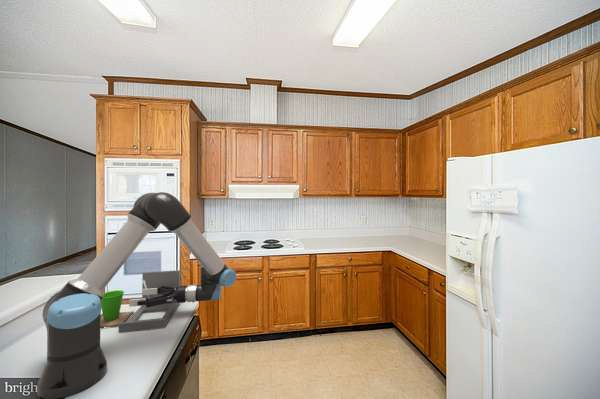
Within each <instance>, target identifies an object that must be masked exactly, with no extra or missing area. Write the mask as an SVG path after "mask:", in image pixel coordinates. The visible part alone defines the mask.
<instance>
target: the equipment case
mask: <svg viewBox="0 0 600 399" xmlns="http://www.w3.org/2000/svg"><path fill="white" fill-rule="evenodd" d="M141 280H142V283H141V284H142V285H141V287H142V289H151V288H159V287H161V286H166V287H179V286H181V270H179V269H177V270H162V271H161V270H160V271H159V270H158V271H143V272H142V279H141ZM142 289H141V290H142ZM161 295H163V294H153V295H142V294H141V296H142V298H141V299H145V298H148V299H150V298H154V297H158V296H161ZM180 304H181V303H177V300H176V299H174V300H172V303H166V304H161V305H156V306H152V307H148V308H147V307H146V305H144V306H139V307H138V309H137V310H136V311H134V314H133V315H132V316H131V317H130V318H129V319H128V320H127V321H126V322H124V323H119V327H118V333H129V332H137V331H146V330H147V331H149V330H158V329H166V327H167V325H168V324H169V322H170V321H171V319H172V318H173V316H174V314H175V312H176V311H177V309H178V307H180ZM163 312H165V313H164V315H163V316H162V317H161V318H160V317H159V318H150V319H148V318H147V319H140V318H141V317H142V316H143V315H144V314H149V313H150V314H152V313H163ZM143 313H144V314H143ZM142 314H143V315H142ZM141 315H142V316H141ZM140 316H141V317H140ZM139 317H140V318H139ZM139 319H140V320H139Z"/></svg>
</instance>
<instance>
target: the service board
mask: <svg viewBox="0 0 600 399" xmlns="http://www.w3.org/2000/svg"><path fill="white" fill-rule="evenodd" d="M133 313H135V311H122V312H121V311H120V312H119V317H118V318H117V319H116V320H113V321H104V318H103V313H101V326H100V328H101V329H105V328H104V327H111V328H119V323H124V322H125V321H126V320H127V319H128V318H129V317H130V316H131V315H132V314H133ZM117 326H118V327H117Z"/></svg>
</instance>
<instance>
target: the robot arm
mask: <svg viewBox="0 0 600 399" xmlns="http://www.w3.org/2000/svg"><path fill="white" fill-rule="evenodd" d="M126 215H127V220H126V222H125V223H124V224H123V225H122V227H121V228H120V229H119V230H118V231H117V232H116V233H115V235H114V236H113V237H112V238H111V239H110V240H109V241H108V243H107V244H106V245H105V246H104V248H103V249H102V250H101V251H100V252H99V253H98V254H97V255H96V257H95V258H94V259H93V260H92V261H91V262H90V263H89V265H88V266H87V267H86V268H85V270H83V272H82V273H81V274H80V275H79V276H78V277H77V278H75V279H71V280H68V281H67V283H66V284H65V285H64V286H63V287H62V288H61V289H60V290H58V291H57V292H55V293H54V294H53V295H52V296H50V297H49V298H48V299H47V301H46V302H45V304H44V306H43V309H42V319H43V322H44V325H45V328H46V333H47V334H46V336H47V337H46V338H47V339H46V341H47V342H46V344H47V346H46V348H47V349H46V363H45V365H44V367H43V370H42V373H41V375H40V377H39V380H38V382H37V389H36V392H37V394H36V395H37V397H38V398H40V397H43V398H44V399H62V398H65V397H69V396H72V395H73V396H74V394H78V393H80V392H83V391H84V390H87V389H88V388H90V387H92V386H93V385H95V384H96V383H97V382H99V381H100V380H101V379H102V378H103V377H104V376H105V375H106V373H107V371H108V361H107V360H108V359H107V358H106V356H105V354H104V352H103V349H102V347H101V329H100V326H101V315H102V306H101V301H100V300H101V299H102V298H103V297H104V293H105V292H104V289H105V288H106V287H107V285H108V284H109V283H110V282H111V281H112V279H113V278H114V277H115V275H117V273H118V272H119V270H120V269H121V268H122V267H123V266H124V264H125V263H126V262H127V260H128V259H129V258H130V257H131V255H132V254H133V253H134V251H135V250H136V249H137V248H138V247H139V245H140V244H141V243H142V241H143V240H144V239H145V238H146V236H147V235H148V234H149V233H151V232H155V231H157V229H158V228H159V226H160V225H162V226H164V227H165V229H167V231H169V232H170V233H174V234H175V236H176V237H177V238H178V239H179V240H180V242H182V244H183V245H184V246H185V247H186V248H187V250H188V251H189V252H190V253H191V254H192V255H193V257H194V258H195V259H196V260H197V262H199V264H200V268H199V269H200V284H189V285H180V286H179V287H166V286H161V287H159V288H151V289H141V296H142V295H153V294H163V295H161V296H158V297H154V298H150V299H148V298H145V299H142V298H133V299H129V304H128V305H129V307H141V306H144V305H146V307H147V308H148V307H152V306H156V305H161V304H166V303H172V300H174V299H176V300H177V303H180V304H182V303H186V302H187V303H192V304H194V303H196V302H206V301H207V302H208V301H210V302H212V301H217V300H220V299H221V297H222V289H223V288H222V287H225V288H229V287H232V286H233V285H234V284H235V283H236V281H237V276H238V275H237V273H236V271H235V270H233V269H231V268H229V266H228V265H227V264H226V263H225V262H224V261H223V260H222V258H221V257H220V255H219V254H218V253H217V252H216V250H215V249H214V248H213V247H212V245H211V244H210V243H209V241H208V240H207V239H206V238H205V236H204V235H203V233H202V232H201V231H200V230H199V228H198V227H197V226H196V225H195V223H194V222H193V221H192V215H191V214H190V212H189V211H188V210H187V209H186V207H185V205H183V204H182V203H181V202H180V200H179V199H178V198H177V197H176V196H174V195H172V194H171V193H169V192H164V191H161V192H147V193H144V194H142V195H141V196H139V197H137V199H136V200H135V201H134V204H133V207H132V209H131V210H130V211H129V212H128V213H127V214H126Z"/></svg>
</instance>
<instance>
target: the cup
mask: <svg viewBox="0 0 600 399" xmlns="http://www.w3.org/2000/svg"><path fill="white" fill-rule="evenodd" d="M124 294H125V291H124V290H117V289H115V290H109V291H106V292H104V297H103V298H102V299H101V300H100V301H101V306H102V308H101V313H102V314H103V318H104V321H113V320H116V319H117V318H118V317H119V312H121V308H122V301H123V297H124Z"/></svg>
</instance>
